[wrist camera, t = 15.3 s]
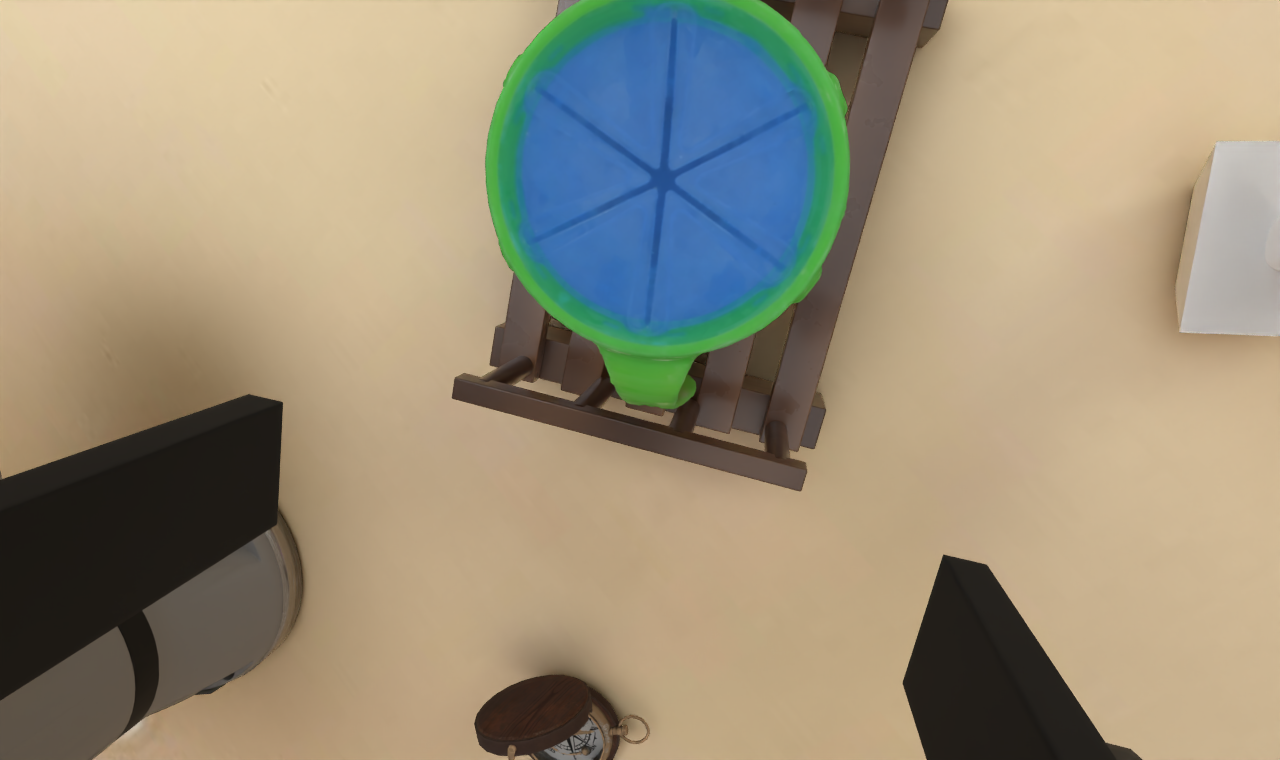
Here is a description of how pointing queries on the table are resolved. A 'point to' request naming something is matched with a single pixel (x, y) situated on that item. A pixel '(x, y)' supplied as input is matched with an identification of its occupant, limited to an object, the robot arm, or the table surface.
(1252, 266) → the figurine
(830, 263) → the dish rack
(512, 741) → the compass
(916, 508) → the table surface
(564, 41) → the snack cup
